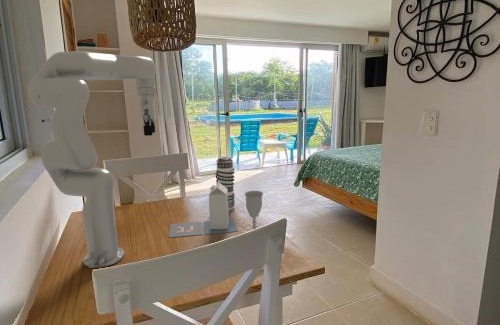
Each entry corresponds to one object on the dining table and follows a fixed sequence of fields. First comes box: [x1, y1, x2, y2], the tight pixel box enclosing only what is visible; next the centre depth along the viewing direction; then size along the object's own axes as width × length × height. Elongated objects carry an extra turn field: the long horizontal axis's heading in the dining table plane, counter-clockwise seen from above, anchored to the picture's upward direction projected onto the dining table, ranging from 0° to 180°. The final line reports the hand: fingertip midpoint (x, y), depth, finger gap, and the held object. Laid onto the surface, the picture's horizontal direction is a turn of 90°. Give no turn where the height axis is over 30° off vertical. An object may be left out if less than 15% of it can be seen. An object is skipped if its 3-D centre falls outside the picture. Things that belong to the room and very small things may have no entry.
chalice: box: [244, 190, 264, 230], centre depth 117 cm, size 7×7×18 cm
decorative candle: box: [214, 156, 236, 211], centre depth 150 cm, size 9×9×25 cm
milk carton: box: [208, 181, 230, 229], centre depth 128 cm, size 7×7×19 cm
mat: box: [203, 218, 238, 235], centre depth 130 cm, size 13×13×1 cm
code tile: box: [168, 221, 203, 239], centre depth 128 cm, size 13×13×1 cm
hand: (149, 134), depth 131 cm, fingers open, 9 cm apart
